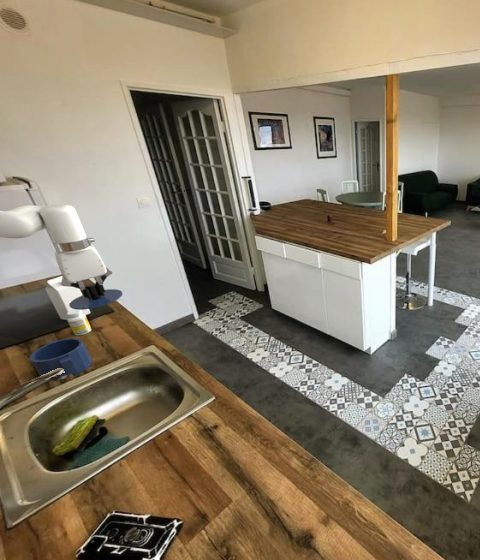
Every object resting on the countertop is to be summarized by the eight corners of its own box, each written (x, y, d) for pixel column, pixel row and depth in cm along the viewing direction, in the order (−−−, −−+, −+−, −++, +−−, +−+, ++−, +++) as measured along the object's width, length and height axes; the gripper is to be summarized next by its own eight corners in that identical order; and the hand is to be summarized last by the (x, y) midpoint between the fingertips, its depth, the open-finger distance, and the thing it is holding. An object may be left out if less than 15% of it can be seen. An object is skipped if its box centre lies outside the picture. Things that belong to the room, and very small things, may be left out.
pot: (49, 391, 98) (36, 370, 94) (35, 368, 107) (23, 348, 103) (99, 369, 107) (90, 349, 104) (83, 350, 116) (73, 331, 113)
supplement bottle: (83, 336, 124) (73, 315, 120) (70, 335, 124) (60, 315, 120) (95, 328, 129) (86, 308, 125) (82, 328, 129) (73, 308, 125)
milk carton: (60, 319, 135) (40, 280, 127) (79, 311, 141) (60, 273, 133) (73, 321, 133) (53, 282, 125) (90, 313, 140) (73, 275, 131)
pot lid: (77, 315, 97) (69, 298, 95) (65, 303, 104) (57, 287, 101) (129, 298, 107) (123, 283, 105) (115, 288, 114) (108, 273, 112)
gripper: (101, 236, 105) (120, 285, 113) (33, 249, 93) (60, 302, 101) (109, 241, 101) (128, 290, 109) (39, 255, 89) (67, 309, 97)
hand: (95, 296), depth 105 cm, fingers closed on pot lid, 2 cm apart
